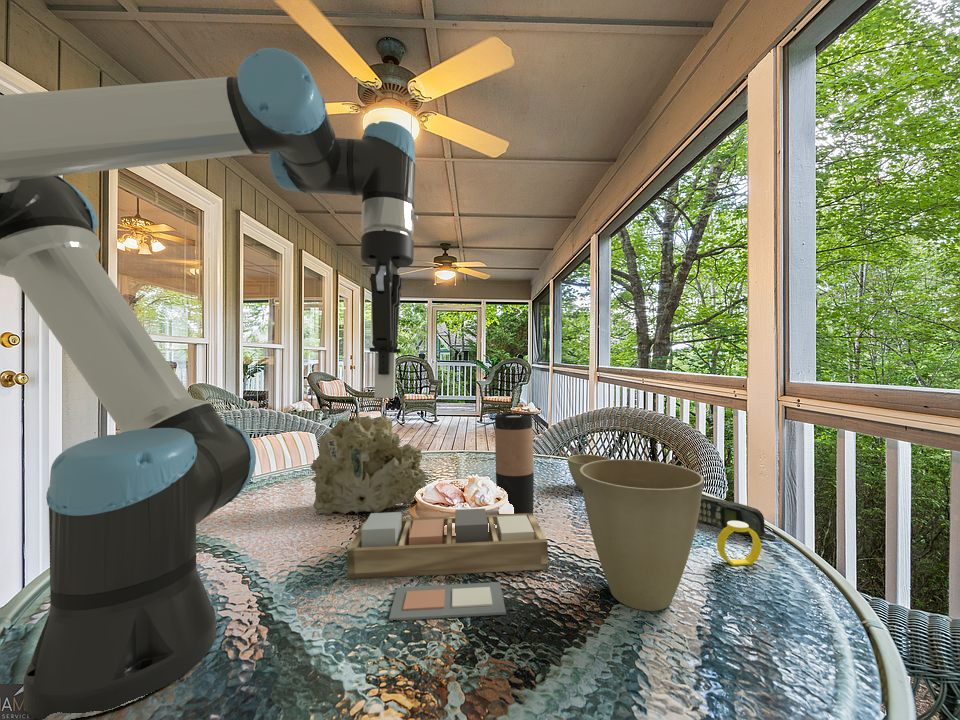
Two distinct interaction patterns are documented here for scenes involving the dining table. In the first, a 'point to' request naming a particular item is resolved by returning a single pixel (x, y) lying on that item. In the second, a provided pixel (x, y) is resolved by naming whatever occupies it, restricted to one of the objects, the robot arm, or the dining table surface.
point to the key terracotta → (427, 532)
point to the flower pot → (578, 461)
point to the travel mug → (515, 459)
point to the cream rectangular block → (514, 528)
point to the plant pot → (642, 526)
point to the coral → (365, 468)
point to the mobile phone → (731, 515)
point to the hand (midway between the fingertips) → (384, 397)
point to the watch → (739, 527)
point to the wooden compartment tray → (448, 554)
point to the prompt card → (447, 601)
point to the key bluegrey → (382, 529)
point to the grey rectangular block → (471, 526)
